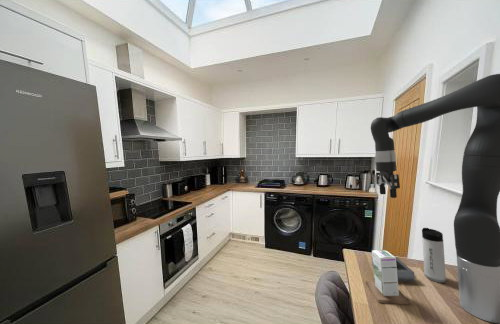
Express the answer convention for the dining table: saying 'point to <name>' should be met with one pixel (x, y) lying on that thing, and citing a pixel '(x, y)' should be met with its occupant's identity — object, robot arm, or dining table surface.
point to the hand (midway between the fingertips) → (387, 195)
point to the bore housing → (403, 272)
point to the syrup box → (385, 272)
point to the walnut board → (386, 299)
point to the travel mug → (433, 255)
